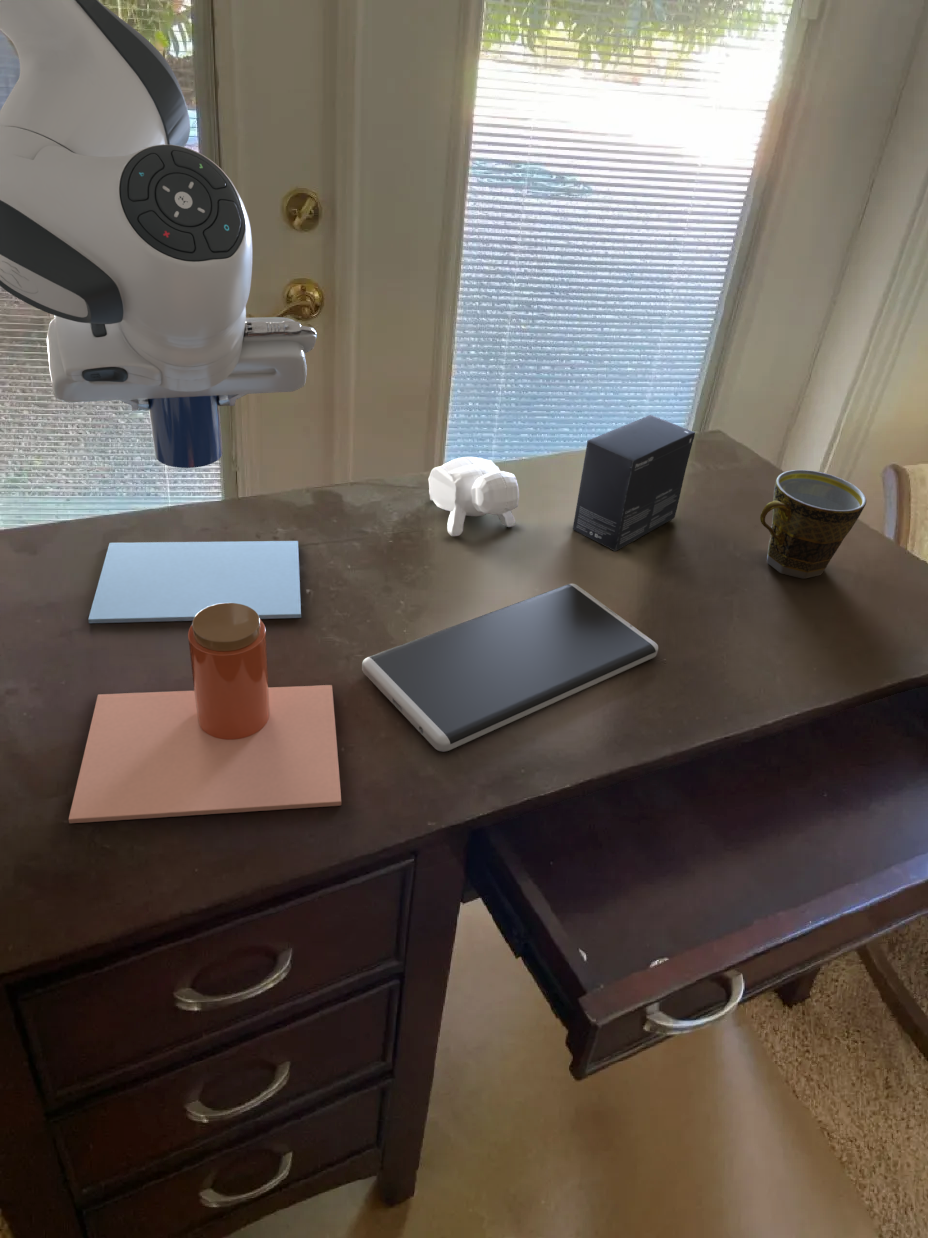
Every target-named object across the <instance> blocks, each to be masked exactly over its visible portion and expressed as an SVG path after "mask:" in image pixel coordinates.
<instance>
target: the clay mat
mask: <svg viewBox="0 0 928 1238" xmlns="http://www.w3.org/2000/svg"><path fill="white" fill-rule="evenodd" d="M333 692H334V690H333V684H325V685H324V684H323V685H322V684H321V685H305V686H304V685H300V686H299V685H298V686H275V687H273V686H272V687H269V707H270V716H269V720H268V721H267V723H266V725H265V726H264V727H263V728H262V729H261V730H260V731H258V732H257V733H255V734H253V735H251V736H248V737H245V738H241V739H234V740H226V739H219V738H215V737H213V736H210V735H208V734H207V733H205V732H204V731H203V730H202V729H201V727H200V726H199V724H198V720H197V711H196V702H195V694H194V690H177V691H176V690H175V691H174V690H173V691H153V692H150V691H149V692H128V693H127V692H126V693H103V694H101V693H100V694H97V697H96V701H95V706H94V709H93V714H92V718H91V721H90V727H89V731H88V736H87V739H86V743H85V746H84V747H85V748H84V752H83V756H82V760H81V765H80V768H79V773H78V778H77V781H76V786H75V790H74V794H73V798H72V803H71V806H70V811H69V816H68V823H69V824H83V823H85V824H86V823H95V822H96V823H99V822H113V821H127V820H128V821H129V820H145V819H159V818H172V817H173V818H174V817H175V818H176V817H188V816H205V815H217V814H218V815H219V814H234V813H248V812H249V813H250V812H263V811H264V812H265V811H278V810H279V811H280V810H295V809H296V810H297V809H308V808H310V809H311V808H323V807H338V806H342V793H341V791H342V790H341V778H340V767H339V756H338V755H339V754H338V741H337V728H336V716H335V704H334V703H335V702H334V693H333Z"/></svg>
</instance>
